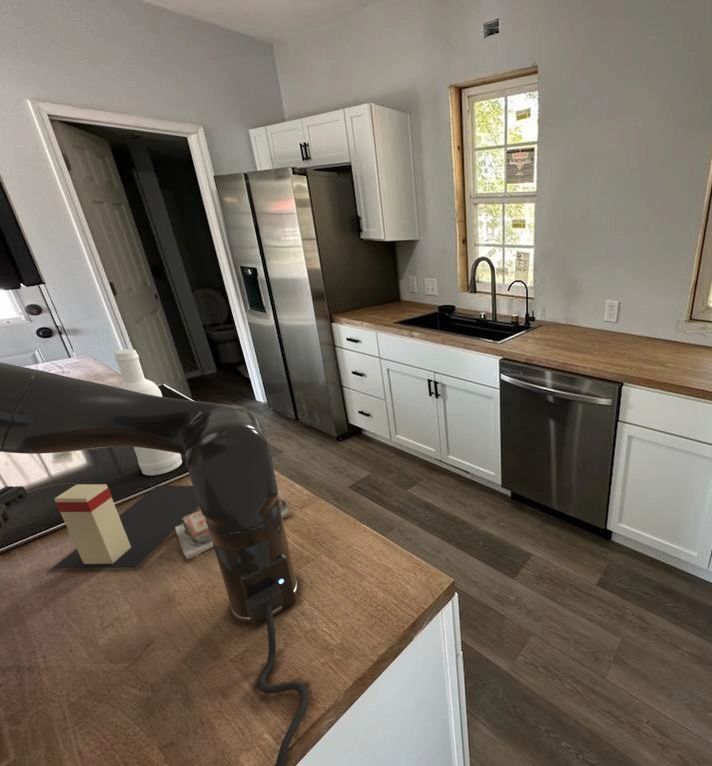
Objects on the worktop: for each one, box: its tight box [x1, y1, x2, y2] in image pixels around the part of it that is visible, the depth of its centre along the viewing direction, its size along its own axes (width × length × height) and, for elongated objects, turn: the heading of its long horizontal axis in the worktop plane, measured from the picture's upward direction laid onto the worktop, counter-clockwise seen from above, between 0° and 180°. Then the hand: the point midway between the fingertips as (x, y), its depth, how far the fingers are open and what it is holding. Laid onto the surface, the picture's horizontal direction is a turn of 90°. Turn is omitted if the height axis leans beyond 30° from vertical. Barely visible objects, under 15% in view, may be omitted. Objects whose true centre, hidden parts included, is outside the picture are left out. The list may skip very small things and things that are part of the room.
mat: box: [52, 485, 200, 569], centre depth 83 cm, size 24×14×1 cm, turn 2°
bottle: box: [113, 348, 183, 476], centre depth 96 cm, size 8×8×30 cm
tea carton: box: [53, 483, 131, 564], centre depth 72 cm, size 4×5×14 cm
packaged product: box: [174, 491, 292, 560], centre depth 83 cm, size 18×5×10 cm
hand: (18, 491), depth 60 cm, fingers closed
